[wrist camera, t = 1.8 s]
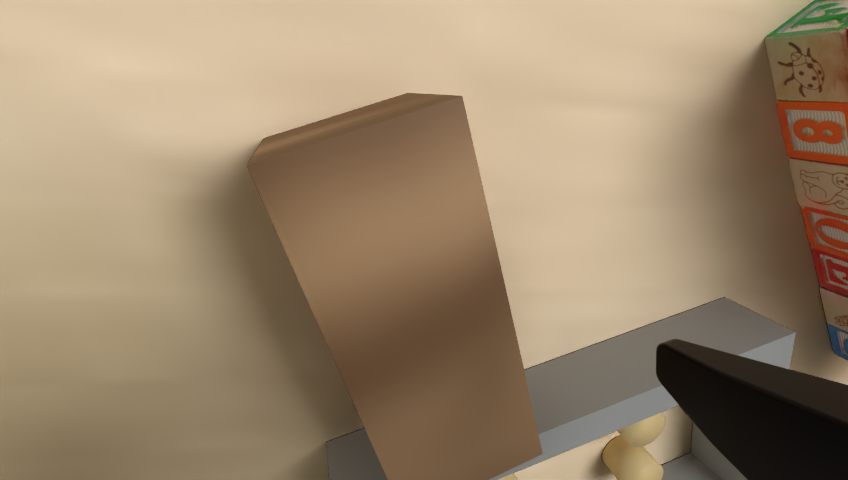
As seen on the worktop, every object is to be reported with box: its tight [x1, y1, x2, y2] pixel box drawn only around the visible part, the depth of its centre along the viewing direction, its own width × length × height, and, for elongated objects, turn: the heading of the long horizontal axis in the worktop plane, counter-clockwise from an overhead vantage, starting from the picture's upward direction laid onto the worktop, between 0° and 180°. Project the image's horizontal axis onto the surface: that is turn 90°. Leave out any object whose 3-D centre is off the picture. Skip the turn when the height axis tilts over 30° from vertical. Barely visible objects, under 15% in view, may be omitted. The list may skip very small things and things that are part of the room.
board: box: [246, 93, 543, 480], centre depth 14 cm, size 12×5×6 cm, turn 16°
